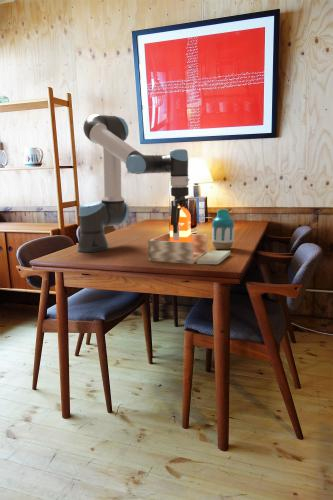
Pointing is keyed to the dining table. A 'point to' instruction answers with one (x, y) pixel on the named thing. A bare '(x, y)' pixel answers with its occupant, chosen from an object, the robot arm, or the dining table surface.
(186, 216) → the orange juice
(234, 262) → the dining table surface
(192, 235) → the crate
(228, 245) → the vase
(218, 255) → the panel
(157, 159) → the robot arm
